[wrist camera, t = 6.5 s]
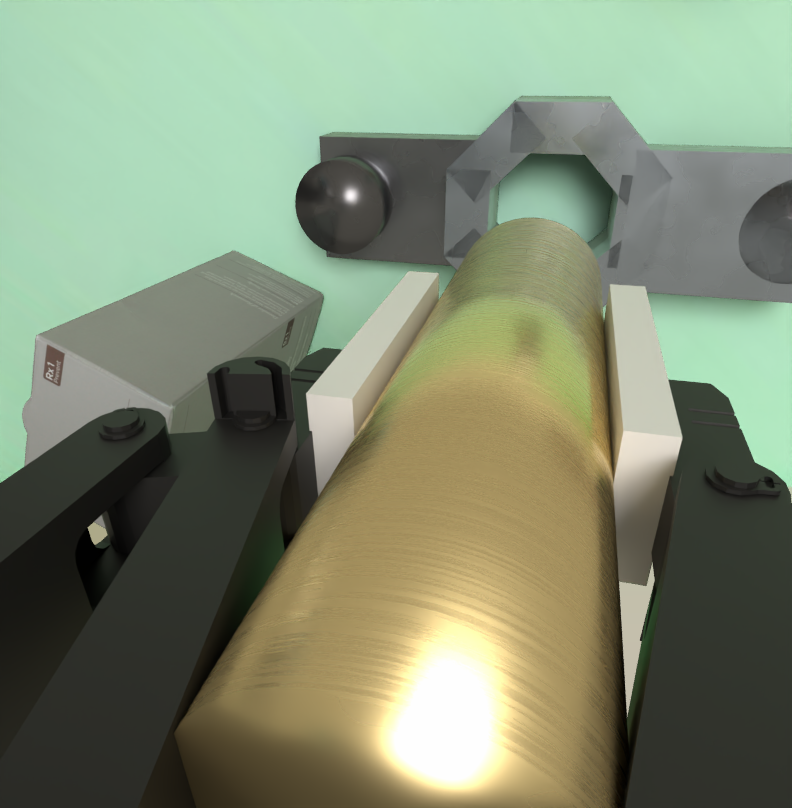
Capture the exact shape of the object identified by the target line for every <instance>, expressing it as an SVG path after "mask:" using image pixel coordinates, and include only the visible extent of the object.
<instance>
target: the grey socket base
mask: <svg viewBox="0 0 792 808" xmlns="http://www.w3.org/2000/svg"><path fill="white" fill-rule="evenodd" d="M320 153H321V163H319V164H317V165H316V166H314V167H312V168H311V169H310V170H309V171H308V172H307V173H306V174H305V175H304V177H303V178H302V180H301V181H300V183H299V186H298V189H297V193H296V200H295V202H296V213H297V217H298V220H299V223H300V225H301V227H302V229H303V230H304V232H305V233H306V235H307V236H308V237H309V238H310V240H312V241H313V242H314V243H315V244H316V245H317V246H319V247H320V248H322V249H324V250H326V251H327V257H336V258H350V259H364V260H379V261H393V262H408V263H422V264H436V265H451V266H453V267H454V268H455V269H456V270H458V268H459V266H460V265H461V263H462V262H463V260H464V258H465V257H466V255H467V253H468V252H469V250H470V249H471V248H472V246H473V245H474V243H475V242H476V241H477V240H478V239H479V238H480V237H481V236H483V235H484V234H485V233H486V232H488V231H489V230H491V229H492V228H494V227H496V226H498V225H499V224H498V223H497V210H498V196H499V182H500V181H501V180H502V179H503V178H504V177H505V176H506V175H507V174H508V173H509V172H510V171H511V170H513V169H514V168H515V167H516V166H517V165H518V164H519V163H520V162H521V161H522V160H523V159H524V158H525V157H526V156H528V155H529V154H530V153H540V154H575V155H585V156H586V157H587V158H588V159H589V160H590V162H591V163H592V164H593V165H594V167H595V168H596V169H597V170H598V171H599V173H600V174H601V175H602V176H603V178H604V179H605V180H606V181H607V183H608V184H609V185H610V186H611V187H612V189H613V193H612V199H611V206H610V212H609V218H608V225H607V228H606V229H605V230H604V231H602V232H601V233H600V234H599V235H597V236H596V237H595V238H594V239H592V240H591V241H590V242H589V243H587V245H588V246H589V247H590V249H591V250H592V252H593V254H594V256H595V257H596V260H597V263H598V265H599V269H600V274H601V284H602V301H603V307H604V306H605V305H606V304H607V299H608V293H609V286H610V284H615V285H630V286H645V287H646V292H650V293H664V294H678V295H691V296H705V297H718V298H732V299H745V300H759V301H772V302H786V303H792V148H790V147H747V146H705V145H663V144H647V143H646V142H645V141H644V140H643V138H642V137H641V136H640V135H639V133H638V132H637V131H636V129H635V128H634V127H633V126H632V124H631V123H630V122H629V121H628V119H627V118H626V117H625V116H624V114H623V113H622V112H621V110H620V109H619V108H618V107H617V105H616V104H615V103H614V102H613V100H612V98H611V97H610V96H609V97H593V96H521V97H519V98H518V99H517V100H515V101H514V102H513V103H512V104H511V105H510V106H509V107H508V108H507V109H506V110H505V111H504V112H503V113H502V114H501V115H500V116H499V117H498V118H497V119H496V120H495V121H494V122H493V123H492V125H491V126H490V127H489V128H488V129H487V130H486V131H485V132H484V133H483V134H482V135H443V134H397V133H352V132H332V133H329V134H326V135H322V136H320Z"/></svg>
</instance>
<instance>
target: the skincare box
mask: <svg viewBox="0 0 792 808" xmlns="http://www.w3.org/2000/svg"><path fill="white" fill-rule="evenodd" d="M322 303H323V294H322V293H321V292H319V291H317V290H315V289H312V288H310V287H309V286H306V285H304V284H302V283H300V282H298V281H296V280H294V279H292V278H290V277H288V276H285V275H283V274H281V273H279V272H277V271H275V270H273V269H271V268H269V267H267V266H265V265H263V264H262V263H260V262H257V261H255V260H253V259H251V258H249V257H247V256H245V255H243V254H241V253H239V252H236V251H231V252H229V253H227V254H225V255H223V256H221V257H218V258H215V259H213V260H211V261H208V262H206V263H204V264H201V265H199V266H197V267H195V268H192V269H190V270H188V271H185V272H183V273H181V274H179V275H176V276H174V277H172V278H169V279H167V280H165V281H162V282H160V283H158V284H155V285H153V286H151V287H148V288H146V289H144V290H142V291H139V292H137V293H135V294H133V295H130V296H128V297H126V298H123V299H121V300H119V301H116V302H114V303H112V304H109V305H107V306H104V307H102V308H100V309H97V310H95V311H93V312H90V313H88V314H85V315H83V316H81V317H78V318H76V319H73V320H71V321H69V322H67V323H64V324H62V325H59V326H57V327H55V328H52V329H50V330H48V331H45V332H43V333H40V334H38V335H37V336H36V339H35V352H34V363H33V377H32V392H31V397H30V399H29V400H28V401H27V402H26V403H25V405H24V408H23V413H22V418H23V423H24V427H25V429H26V431H27V443H26V454H25V466H26V465H27V464H29V463H30V462H32V461H33V460H35V459H36V458H38V457H39V456H41V455H42V454H43V453H45V452H46V451H48V450H49V449H51V448H52V447H54V446H55V445H56V444H58V443H59V442H61V441H62V440H64V439H65V438H67V437H68V436H69V435H71V434H72V433H74V432H75V431H77V430H78V429H80V428H81V427H83V426H84V425H85V424H87V423H88V422H90V421H92V420H94V419H96V418H98V417H99V416H101V415H104V414H107V413H110V412H113V411H114V410H117V409H122V408H125V409H126V408H129V407H136V408H149V409H152V410H155V411H159V412H160V413H161V414H162V415H163V416H164V417H165V419H166V423H167V428H168V432H169V434H173V433H191V432H204V431H207V430H208V429H209V427H210V426H211V424H212V422H213V421H214V419H215V417H214V411H213V405H212V400H211V394H210V389H209V383H208V378H207V373H208V372H209V371H210V370H211V369H213V368H214V367H215V366H217V365H220V364H222V363H224V362H226V361H230V360H234V359H239V358H243V357H258V356H259V357H269V358H275V359H278V360H280V361H283V362H285V363H286V364H287V365H288V366H289V367H290V372H291V371H292V370H294V368H295V367H296V366H297V365H298V364H299V363H300V362H301V361H302V360H303V358H304V357H306V355H307V352H308V349H309V346H310V343H311V340H312V337H313V334H314V330H315V327H316V324H317V320H318V317H319V313H320V310H321V306H322ZM94 522H95V523H96V524H98V525H100V526H102V527H103V528H105V524H104V521H103V518H102V515H101V516H100V517H99V518H98V519H96V520H95V521H94ZM105 529H106V528H105Z"/></svg>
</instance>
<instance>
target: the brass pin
mask: <svg viewBox="0 0 792 808" xmlns="http://www.w3.org/2000/svg"><path fill="white" fill-rule="evenodd" d="M174 735H175V739H176V742H177V745H178V749H179V752H180V755H181V758H182V762H183V765H184V768H185V772H186V775H187V778H188V782H189V785H190V788H191V792H192V795H193V798H194V802H195V805H196V808H623V802H624V795H625V788H626V780H627V770H628V761H629V745H628V728H627V712H626V694H625V676H624V659H623V643H622V626H621V608H620V591H619V574H618V557H617V540H616V523H615V506H614V489H613V472H612V455H611V438H610V421H609V404H608V387H607V370H606V353H605V336H604V318H603V301H602V284H601V274H600V269H599V265H598V263H597V260H596V257H595V256H594V254H593V252H592V250H591V249H590V247H589V246H588V245H587V243H586V242H585V241H584V240H583V239H582V238H581V237H580V236H579V235H578V234H577V233H575V232H574V231H573V230H571V229H569V228H568V227H566V226H564V225H562V224H560V223H557V222H555V221H551V220H547V219H541V218H521V219H515V220H511V221H508V222H505V223H502V224H500V225H498V226H496V227H494V228H492V229H491V230H489V231H488V232H486V233H485V234H484V235H483V236H481V237H480V238H479V239H478V240H477V241H476V242H475V243H474V245H473V246H472V248H471V249H470V250H469V252H468V253H467V255H466V257H465V258H464V260H463V262H462V263H461V265H460V266H459V268H458V270H457V271H456V273H455V275H454V276H453V278H452V279H451V281H450V283H449V284H448V286H447V288H446V289H445V291H444V293H443V294H442V296H441V297H440V299H439V301H438V302H437V304H436V306H435V307H434V309H433V310H432V312H431V314H430V315H429V317H428V319H427V320H426V322H425V324H424V325H423V327H422V328H421V330H420V332H419V333H418V335H417V337H416V338H415V340H414V341H413V343H412V345H411V346H410V348H409V350H408V351H407V353H406V355H405V356H404V358H403V359H402V361H401V363H400V364H399V366H398V368H397V369H396V371H395V372H394V374H393V376H392V377H391V379H390V381H389V382H388V384H387V386H386V387H385V389H384V390H383V392H382V394H381V395H380V397H379V399H378V400H377V402H376V403H375V405H374V407H373V408H372V410H371V412H370V413H369V415H368V417H367V418H366V420H365V421H364V423H363V425H362V426H361V428H360V430H359V431H358V433H357V434H356V436H355V438H354V439H353V441H352V443H351V444H350V446H349V448H348V449H347V451H346V452H345V454H344V456H343V457H342V459H341V461H340V462H339V464H338V465H337V467H336V469H335V470H334V472H333V474H332V475H331V477H330V479H329V480H328V482H327V483H326V485H325V487H324V488H323V490H322V492H321V493H320V495H319V496H318V498H317V500H316V501H315V503H314V505H313V506H312V508H311V510H310V511H309V513H308V514H307V516H306V518H305V519H304V521H303V523H302V524H301V526H300V527H299V529H298V531H297V532H296V534H295V536H294V537H293V539H292V541H291V542H290V544H289V545H288V547H287V549H286V550H285V552H284V554H283V555H282V557H281V558H280V560H279V562H278V563H277V565H276V567H275V568H274V570H273V572H272V573H271V575H270V576H269V578H268V580H267V581H266V583H265V585H264V586H263V588H262V589H261V591H260V593H259V594H258V596H257V598H256V599H255V601H254V603H253V604H252V606H251V607H250V609H249V611H248V612H247V614H246V616H245V617H244V619H243V621H242V622H241V624H240V625H239V627H238V629H237V630H236V632H235V634H234V635H233V637H232V638H231V640H230V642H229V643H228V645H227V647H226V648H225V650H224V651H223V653H222V655H221V656H220V658H219V660H218V661H217V663H216V665H215V666H214V668H213V669H212V671H211V673H210V674H209V676H208V678H207V679H206V681H205V683H204V684H203V686H202V687H201V689H200V691H199V692H198V694H197V696H196V697H195V699H194V700H193V702H192V704H191V705H190V707H189V709H188V710H187V712H186V714H185V715H184V717H183V718H182V720H181V722H180V723H179V725H178V727H177V729H176V731H175V732H174Z"/></svg>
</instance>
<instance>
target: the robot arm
mask: <svg viewBox="0 0 792 808" xmlns="http://www.w3.org/2000/svg"><path fill="white" fill-rule="evenodd" d="M438 298H439V273H430V272H414V271H408V272H407V274H406V275H405V276H404V277H403V278H402V280H401V281H400V282H399V283H398V284H397V285H396V287H395V288H394V289H393V290H392V291H391V293H390V294H389V295H388V296H387V297H386V299H385V300H384V301H383V302H382V303H381V305H380V306H379V307H378V308H377V309H376V311H375V312H374V313H373V314H372V315H371V317H370V318H369V319H368V320H367V321H366V323H365V324H364V325H363V326H362V327H361V329H360V330H359V331H358V332H357V333H356V334H355V336H354V337H353V338H352V339H351V340H350V342H349V343H348V344H347V345H346V346H345V348H344V349H343V350H340V349H329V348H322V349H320V350H318V351H316V352H314V353H312V354H310V355H308V356H306V357H304V358H303V360H302V361H301V362H300V363H299V364H298V365H297V366H296V367H295V368H294V370H292V371H291V372H290V367H289V366H288V365H287V364H286V363H285V362H283V361H280V360H278V359H275V358H269V357H259V356H258V357H243V358H239V359H234V360H230V361H226V362H224V363H222V364H220V365H217V366H215V367H214V368H213V369H211V370H210V371H209V372H208V373H207V378H208V383H209V389H210V394H211V400H212V405H213V411H214V417H215V419H214V421H213V422H212V424H211V426H210V427H209V429H208V430H207V431H204V432H191V433H173V434H169V432H168V428H167V423H166V419H165V417H164V416H163V415H162V414H161V413H160V412H159V411H155V410H152V409H149V408H136V407H129V408H126V409H125V408H122V409H117V410H114V411H113V412H110V413H107V414H104V415H101V416H99V417H98V418H96V419H94V420H92V421H90V422H88V423H87V424H85V425H84V426H83V427H81V428H80V429H78V430H77V431H75V432H74V433H72V434H71V435H69V436H68V437H67V438H65V439H64V440H62V441H61V442H59V443H58V444H56V445H55V446H54V447H52V448H51V449H49V450H48V451H46V452H45V453H43V454H42V455H41V456H39V457H38V458H36V459H35V460H33V461H32V462H30V463H29V464H27V465H26V466H25V467H23V468H22V469H20V470H19V471H17V472H16V473H14V474H13V475H12V476H10V477H9V478H7V479H6V480H4V481H3V482H1V483H0V808H196V805H195V802H194V798H193V795H192V792H191V788H190V785H189V782H188V778H187V775H186V772H185V768H184V765H183V762H182V758H181V755H180V752H179V749H178V745H177V742H176V739H175V735H174V732H175V731H176V729H177V727H178V725H179V723H180V722H181V720H182V718H183V717H184V715H185V714H186V712H187V710H188V709H189V707H190V705H191V704H192V702H193V700H194V699H195V697H196V696H197V694H198V692H199V691H200V689H201V687H202V686H203V684H204V683H205V681H206V679H207V678H208V676H209V674H210V673H211V671H212V669H213V668H214V666H215V665H216V663H217V661H218V660H219V658H220V656H221V655H222V653H223V651H224V650H225V648H226V647H227V645H228V643H229V642H230V640H231V638H232V637H233V635H234V634H235V632H236V630H237V629H238V627H239V625H240V624H241V622H242V621H243V619H244V617H245V616H246V614H247V612H248V611H249V609H250V607H251V606H252V604H253V603H254V601H255V599H256V598H257V596H258V594H259V593H260V591H261V589H262V588H263V586H264V585H265V583H266V581H267V580H268V578H269V576H270V575H271V573H272V572H273V570H274V568H275V567H276V565H277V563H278V562H279V560H280V558H281V557H282V555H283V554H284V552H285V550H286V549H287V547H288V545H289V544H290V542H291V541H292V539H293V537H294V536H295V534H296V532H297V531H298V529H299V527H300V526H301V524H302V523H303V521H304V519H305V518H306V516H307V514H308V513H309V511H310V510H311V508H312V506H313V505H314V503H315V501H316V500H317V498H318V496H319V495H320V493H321V492H322V490H323V488H324V487H325V485H326V483H327V482H328V480H329V479H330V477H331V475H332V474H333V472H334V470H335V469H336V467H337V465H338V464H339V462H340V461H341V459H342V457H343V456H344V454H345V452H346V451H347V449H348V448H349V446H350V444H351V443H352V441H353V439H354V438H355V436H356V434H357V433H358V431H359V430H360V428H361V426H362V425H363V423H364V421H365V420H366V418H367V417H368V415H369V413H370V412H371V410H372V408H373V407H374V405H375V403H376V402H377V400H378V399H379V397H380V395H381V394H382V392H383V390H384V389H385V387H386V386H387V384H388V382H389V381H390V379H391V377H392V376H393V374H394V372H395V371H396V369H397V368H398V366H399V364H400V363H401V361H402V359H403V358H404V356H405V355H406V353H407V351H408V350H409V348H410V346H411V345H412V343H413V341H414V340H415V338H416V337H417V335H418V333H419V332H420V330H421V328H422V327H423V325H424V324H425V322H426V320H427V319H428V317H429V315H430V314H431V312H432V310H433V309H434V307H435V306H436V304H437V302H438ZM604 336H605V353H606V370H607V387H608V404H609V421H610V438H611V455H612V472H613V489H614V506H615V523H616V540H617V557H618V574H619V581H620V582H626V583H632V584H638V585H643V586H646V585H647V581H648V577H649V573H650V569H651V565H652V562H653V569H654V577H655V582H654V586H653V590H652V594H651V598H650V602H649V607H648V610H647V614H646V618H645V622H644V626H643V630H642V634H641V638H640V641H642V643H641V648H640V654H639V659H638V664H637V669H636V675H635V680H634V686H633V691H632V696H631V701H630V706H629V712H628V717H627V728H628V745H629V761H628V770H627V780H626V788H625V795H624V802H623V808H792V503H791V494H790V492H789V489H788V487H787V485H786V483H785V482H784V481H783V480H782V479H781V478H780V477H778V476H777V475H776V474H775V473H774V472H772V471H771V470H769V469H767V468H765V467H763V466H761V465H759V464H757V463H755V462H754V459H753V457H752V455H751V452H750V450H749V447H748V445H747V442H746V440H745V437H744V435H743V433H742V430H741V429H739V426H740V425H739V423H738V420H737V418H736V416H734V411H733V408H732V406H731V403H730V401H729V398H728V397H726V396H725V395H724V394H723V393H722V392H720V391H719V390H718V389H717V388H715V387H714V386H713V385H712V384H708V383H698V382H688V381H677V380H668V377H667V373H666V369H665V365H664V361H663V356H662V352H661V348H660V344H659V340H658V336H657V332H656V328H655V324H654V320H653V316H652V312H651V308H650V304H649V300H648V296H647V292H646V287H645V286H630V285H615V284H610V286H609V293H608V299H607V306H606V312H605V319H604ZM101 515H102V518H103V521H104V524H105V528H106V531H107V534H108V535H107V536H106V537H105V538H104V539H103V540H102V541H101V542H99V543H98V544H96V545H94V544H93V542H92V540H91V537H90V534H89V531H88V528H87V527H89V526H90V525H91V524H92V523H93V522H94V521H95V520H96V519H98V518H99V517H100V516H101Z"/></svg>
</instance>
